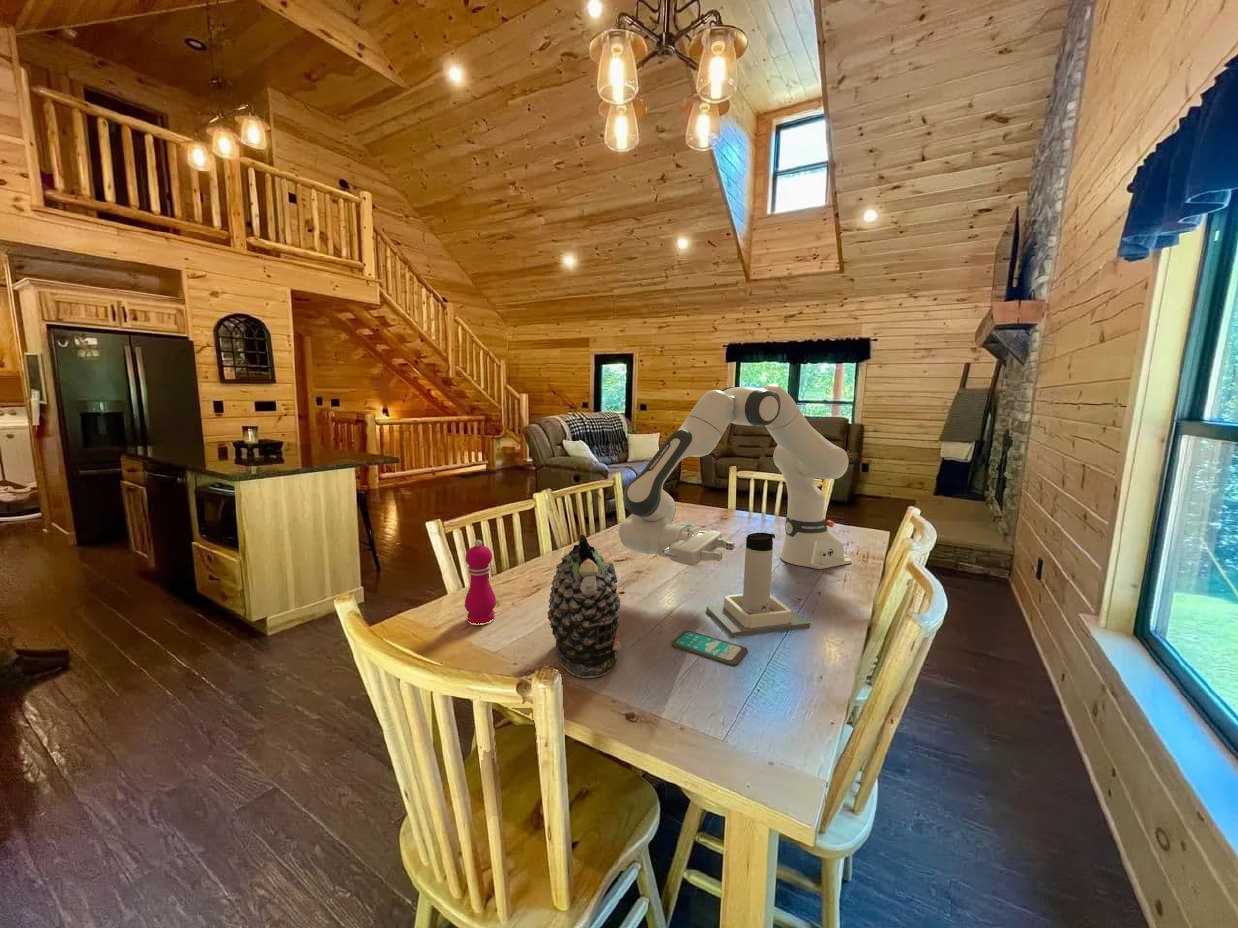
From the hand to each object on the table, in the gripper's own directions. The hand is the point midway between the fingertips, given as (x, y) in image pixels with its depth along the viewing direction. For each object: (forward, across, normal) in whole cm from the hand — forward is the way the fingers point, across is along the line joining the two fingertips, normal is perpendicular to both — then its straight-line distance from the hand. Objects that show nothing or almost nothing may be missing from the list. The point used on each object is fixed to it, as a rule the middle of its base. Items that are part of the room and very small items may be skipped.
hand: (727, 551), depth 122 cm
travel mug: (+8, 0, +14) cm, 16 cm away
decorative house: (-18, -35, +16) cm, 43 cm away
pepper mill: (-49, -35, +16) cm, 62 cm away
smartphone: (+3, -19, +16) cm, 25 cm away
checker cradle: (+8, 0, +16) cm, 18 cm away
